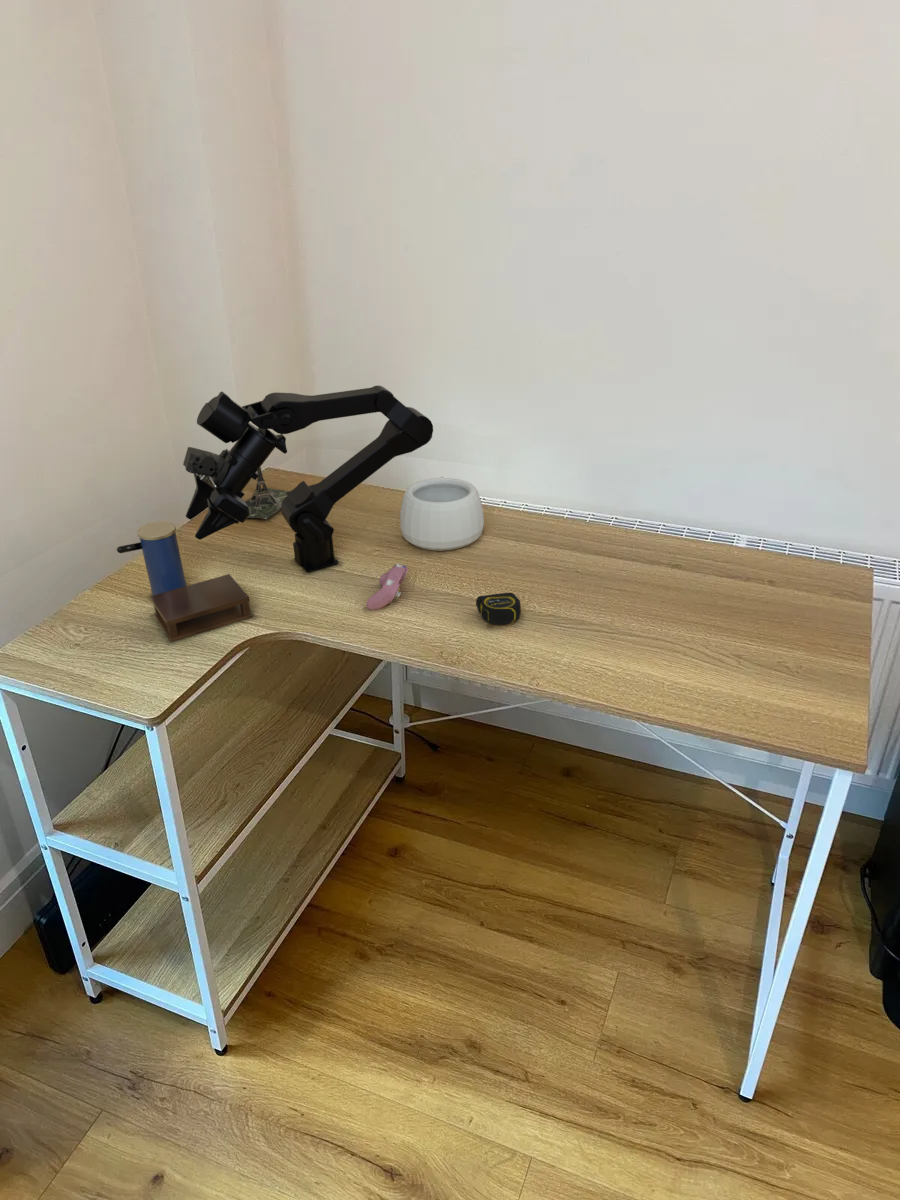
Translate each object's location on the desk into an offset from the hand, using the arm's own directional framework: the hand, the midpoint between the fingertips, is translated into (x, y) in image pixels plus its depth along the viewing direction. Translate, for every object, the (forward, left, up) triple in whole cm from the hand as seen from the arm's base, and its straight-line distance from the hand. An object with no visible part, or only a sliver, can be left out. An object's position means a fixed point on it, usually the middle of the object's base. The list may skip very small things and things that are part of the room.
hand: (192, 527), depth 150 cm
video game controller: (-26, +23, -12) cm, 37 cm away
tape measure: (-38, +39, -12) cm, 56 cm away
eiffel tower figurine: (-23, -29, -12) cm, 39 cm away
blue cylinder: (+8, -1, -12) cm, 14 cm away
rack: (+3, +10, -12) cm, 16 cm away
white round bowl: (-48, +5, -12) cm, 50 cm away
